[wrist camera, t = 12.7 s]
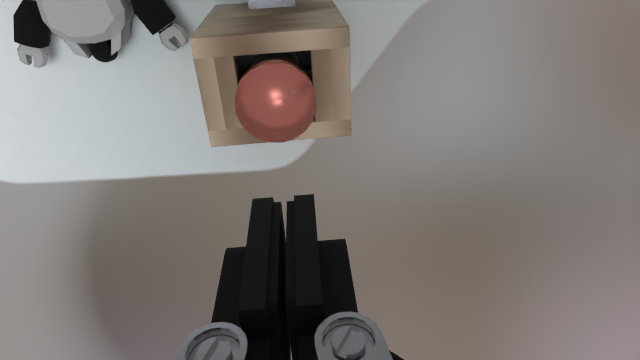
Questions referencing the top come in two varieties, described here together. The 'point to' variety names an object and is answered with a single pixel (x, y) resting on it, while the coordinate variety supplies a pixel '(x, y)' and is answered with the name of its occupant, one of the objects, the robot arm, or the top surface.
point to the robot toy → (89, 26)
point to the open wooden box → (273, 37)
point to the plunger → (275, 98)
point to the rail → (270, 3)
